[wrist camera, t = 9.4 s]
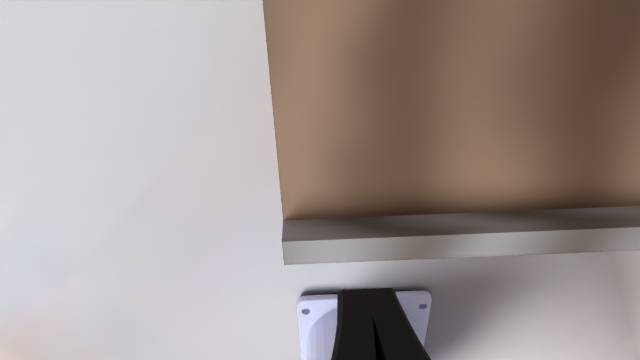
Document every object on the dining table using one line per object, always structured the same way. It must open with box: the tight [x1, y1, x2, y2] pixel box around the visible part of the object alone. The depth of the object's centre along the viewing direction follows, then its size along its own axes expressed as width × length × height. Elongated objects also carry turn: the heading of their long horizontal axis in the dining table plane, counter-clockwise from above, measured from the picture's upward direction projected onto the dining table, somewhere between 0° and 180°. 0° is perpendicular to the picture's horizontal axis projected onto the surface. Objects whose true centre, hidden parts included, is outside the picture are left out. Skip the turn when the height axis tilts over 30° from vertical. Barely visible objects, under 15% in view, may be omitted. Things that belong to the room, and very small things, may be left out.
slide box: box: [263, 0, 640, 265], centre depth 16 cm, size 22×13×5 cm, turn 92°
